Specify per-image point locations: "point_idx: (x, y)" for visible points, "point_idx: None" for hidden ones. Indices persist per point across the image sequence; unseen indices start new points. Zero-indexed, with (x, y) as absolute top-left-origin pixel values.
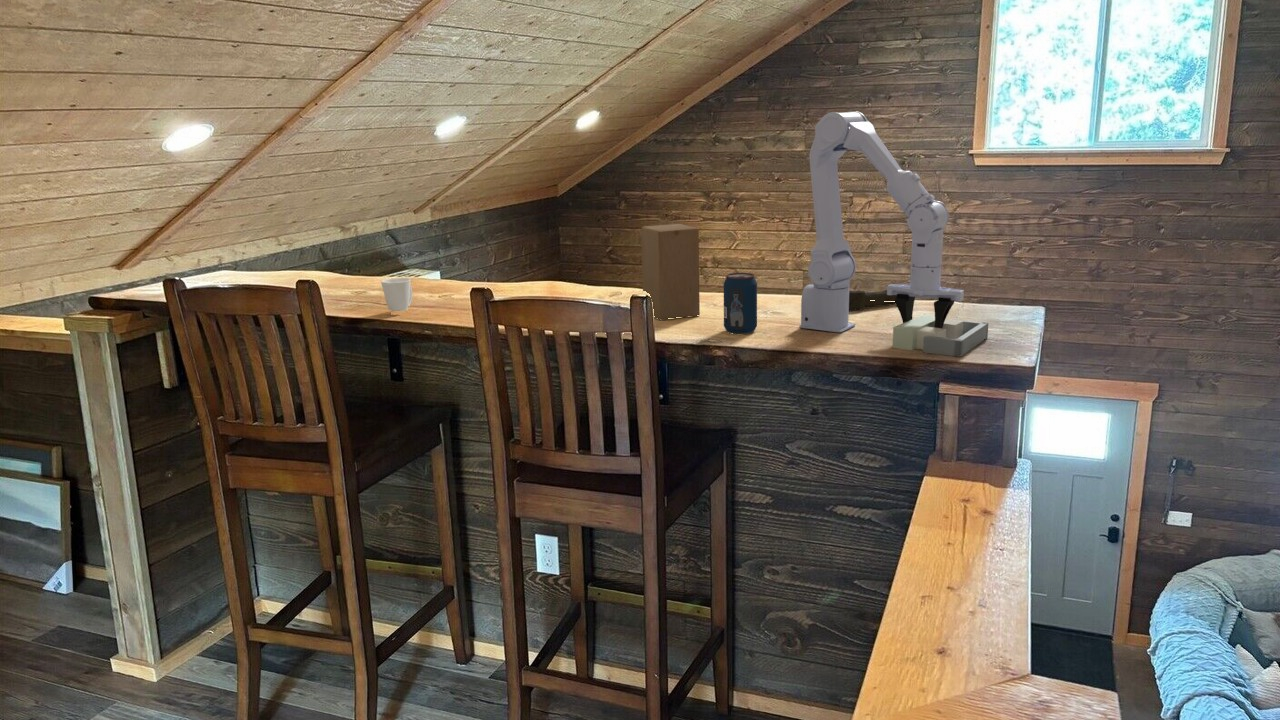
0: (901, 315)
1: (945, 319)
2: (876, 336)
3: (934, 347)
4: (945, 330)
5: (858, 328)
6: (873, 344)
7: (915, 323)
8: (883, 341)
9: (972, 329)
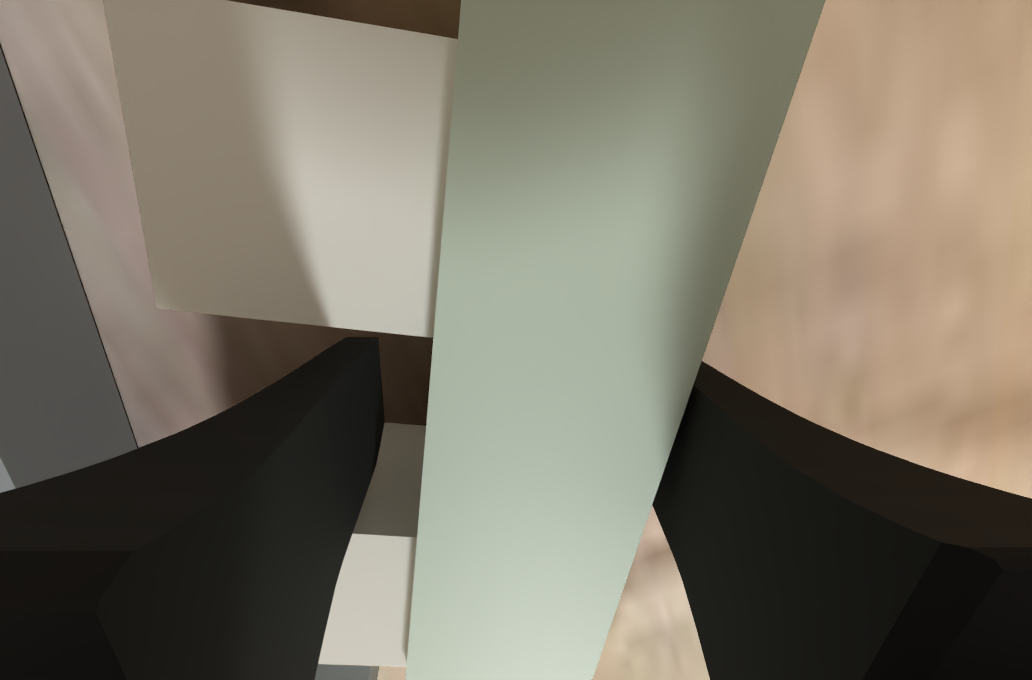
0: (808, 422)
1: (385, 654)
2: (894, 334)
3: None
4: (163, 289)
5: (1025, 491)
6: (925, 8)
7: (571, 329)
8: (827, 188)
9: (3, 491)
